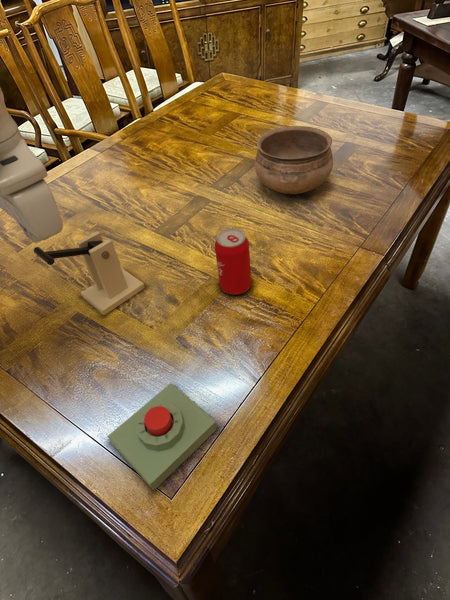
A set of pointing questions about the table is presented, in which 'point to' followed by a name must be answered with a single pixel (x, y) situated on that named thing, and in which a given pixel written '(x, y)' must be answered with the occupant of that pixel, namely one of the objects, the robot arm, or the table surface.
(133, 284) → the lever bracket
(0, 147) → the robot arm
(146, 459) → the button housing
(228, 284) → the beverage can
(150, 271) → the table surface
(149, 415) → the button
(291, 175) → the cooking pot
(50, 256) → the press lever
